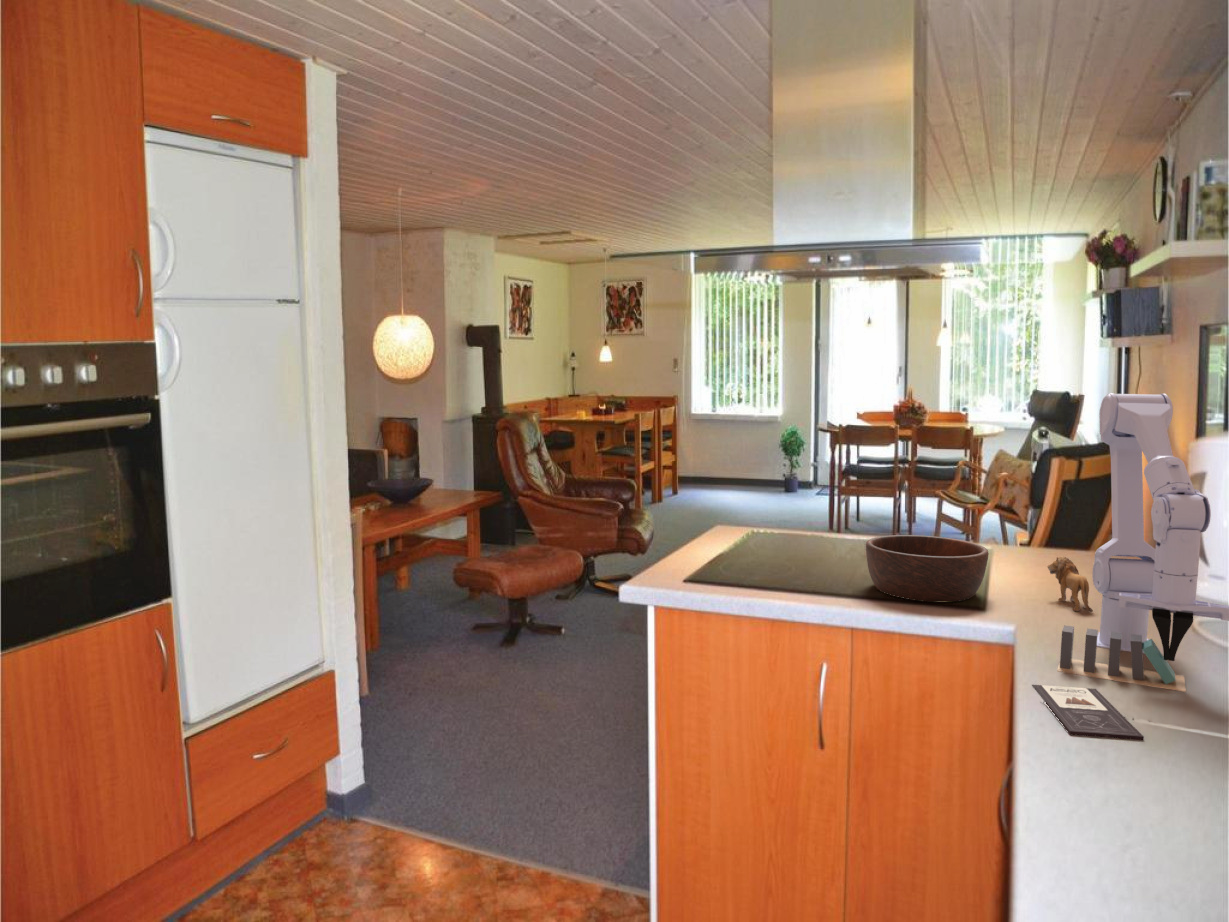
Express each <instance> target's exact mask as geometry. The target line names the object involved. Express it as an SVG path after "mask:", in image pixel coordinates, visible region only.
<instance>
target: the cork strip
mask: <svg viewBox="0 0 1229 922" xmlns="http://www.w3.org/2000/svg"><path fill="white" fill-rule="evenodd" d="M1108 665H1109V663H1108V664H1107V663H1099V662H1096V663H1095V671H1094V673H1090V672H1084V660H1081V659H1076V658H1075V659H1074V658H1072V664H1071V668H1070V669H1065V668H1060V661H1059V663H1058V666H1057V670H1056V672H1060V673H1064V674H1065V673H1066V674H1070V675H1071V674H1072V675H1079V676H1085V677H1091V678H1098V679H1103V680H1109V681H1110V680H1111V681H1115V682H1122V683H1127V684H1128V683H1129V684H1134V685H1139V686H1146V687H1147V686H1148V687H1153V688H1161V689H1166V690H1172V691H1178V692H1183V693H1184V692H1187V690H1186V683H1185V676H1184V675H1178V674H1175V681H1173V682H1170V683H1168V684H1165V683H1164V681H1163V680H1162V678H1161V677H1160V675H1159V674H1158V672H1157V671H1152V670H1146V669H1144V680H1137V679H1133V677H1132V667H1126V666H1120V667H1119V677H1115V676H1109V675H1108Z"/></svg>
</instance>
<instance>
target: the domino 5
mask: <svg viewBox="0 0 1229 922" xmlns="http://www.w3.org/2000/svg"><path fill="white" fill-rule="evenodd" d="M1142 650H1143V651H1144V653H1145V656H1146V657H1147V659H1148V660H1149V662H1150V663H1151V665H1152V666H1153V668H1154V669H1155V672H1158V674H1159V675H1160V677H1161V678H1162V680H1163V681H1164V683H1165V684H1168V683H1170V682H1173V681H1175V675H1176V673H1175V671H1174V669H1173V668H1172V667H1171V665H1170V664H1169V662H1168V660H1164V654H1163V653H1162V651H1161V650H1160V649H1159V648H1158V646H1157V644H1156V643H1155V641H1154V640H1153V638H1149V640H1147V641H1145V642H1143V643H1142Z"/></svg>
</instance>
